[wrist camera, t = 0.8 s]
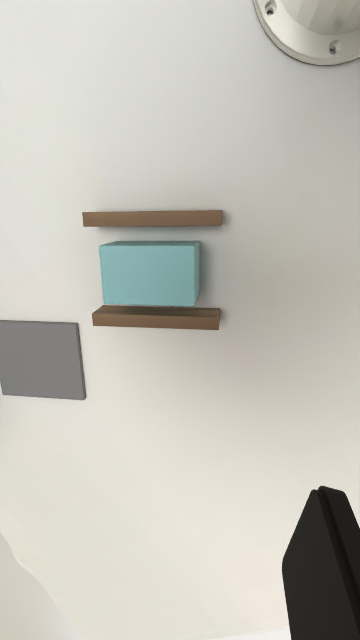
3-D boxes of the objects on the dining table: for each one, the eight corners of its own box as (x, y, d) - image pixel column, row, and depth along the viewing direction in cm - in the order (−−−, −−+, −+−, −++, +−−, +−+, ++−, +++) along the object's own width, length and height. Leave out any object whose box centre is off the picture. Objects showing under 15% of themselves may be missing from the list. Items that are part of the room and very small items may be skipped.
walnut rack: (95, 212, 32) (82, 212, 30) (222, 210, 31) (221, 210, 28) (104, 316, 36) (93, 325, 33) (219, 320, 34) (218, 329, 31)
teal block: (118, 240, 33) (98, 245, 28) (199, 240, 32) (194, 245, 27) (121, 291, 35) (103, 303, 30) (199, 292, 34) (194, 306, 29)
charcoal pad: (-8, 320, 38) (-12, 321, 37) (77, 322, 36) (75, 324, 36) (5, 392, 40) (2, 394, 40) (85, 397, 39) (83, 400, 38)
